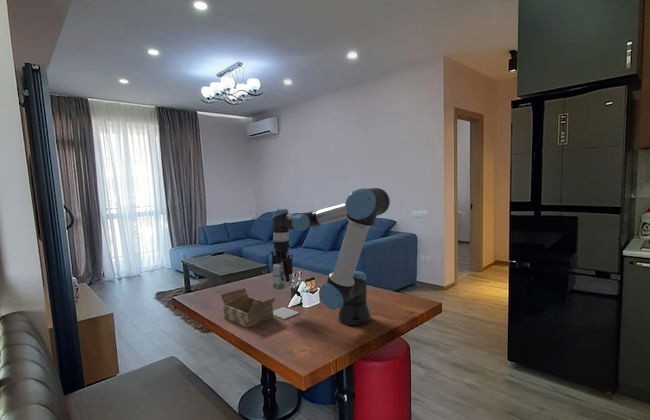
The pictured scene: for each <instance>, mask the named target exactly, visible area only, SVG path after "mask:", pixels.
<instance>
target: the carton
mask: <svg viewBox="0 0 650 420" xmlns="http://www.w3.org/2000/svg"><path fill="white" fill-rule="evenodd" d="M220 297H221V300H222V302H223V305H222V306H223V318H224V319H226V320H228V321H231V322H232V323H235V324H237V325H239V326H241V327H245V328H246V329H248V328H251V327H254V326H256V325H259V324H261V323H263V322H266V321H268V320H271V319H273V318H274V316H273V311H274V302H275V300H276V297H273V298H270V299H268V300H264V301H263V300H260V299H257V298H255V297H252V296H249V295H248V293H247V290H246V288H245V287H243V288H239V289H236V290H234V291H229V292H227V293H223V294H220ZM245 311H247V312H245Z"/></svg>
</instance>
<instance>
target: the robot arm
mask: <svg viewBox="0 0 650 420" xmlns="http://www.w3.org/2000/svg"><path fill="white" fill-rule="evenodd" d="M349 193H350V194H348V195H347V197H346V200H345V202H342V203H338V204H333V205H331V206H328V207H325V208H321V209H317V210H313V211H309V212H302V213H300V212H299V213H289V209H287V208H275V209H274V210H272V228H273V230H272V231H273V232H272V233H273V235H272V236H273V238H272V239H273V249H274V251H270V254H271V268H272V269H271V270H272V272H273V265H274V264H279V263H283V268H284V273H285V275H284V289H288V288H290V287H289V281H290V277H289V275H290V274H292V275H293V273H294V272H293V256H294V255H293V253H289V252H290V251H289V248H290V241H289V239H290V237H289V236H290V233H289V232H290V230H293V231H299V232H300V231H306V230H308V228H315V227H320V226H323V225H326V224H330V223H334V222H338V221H342V220H347V221H348V223H347V227H346V230H345V234H344V237H343V240H342V243H341V247H340V249H339V253H338V256H337V260H336V262H335V266H334V269H333V271H331V272H329V274H328V277H327V279H326V283H323V284H322V285H321V286H320V288H319V290H318V292H319V293H318V295H319V298H320V300H321V302H322V304H323V305H324V306H325V307H326V308H327V309H329V310H338V309H339V312H338V321H339V322H340V323H341V324H343V325H345V324H346V325H347V326H351V325H360V326H363V324H365V325H367V324H369V323H370V322H371V320H372V319H371V312H370V309H369V306H368V303H367V297H368V296H367V293H368V292H367V281H368V280H367V275H366V273H365V272H363V271H360V270H356V269H357V266H358V263H359V259H360V256H361V254H362V250H363V248H364V244H365V240H366V238H367V235H368V232H369V229H370V228H371V227H374V226H375V223H376V219H377V216H381V215H383V214H384V213H386V212H387V211H388V210H389V207H390V205H391V200H390V196H389V194H388V193H387V192H386V191H385V190H384V189H382V188H378V187H374V188H373V187H372V188H371V187H370V188H366V187H365V188H358V189H355V190H353V191H351V192H349ZM284 289H283V290H284ZM369 321H370V322H369ZM368 322H369V323H368ZM366 323H367V324H366Z"/></svg>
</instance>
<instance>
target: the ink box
mask: <svg viewBox="0 0 650 420" xmlns="http://www.w3.org/2000/svg"><path fill="white" fill-rule="evenodd" d="M284 275H285V273H284V268H283V263H282V262H281V263H279V264H274V265H273V271H272V282H273V283H272V286H273V287H272V288H273V289H275V290H279V291H280V290H284ZM292 275H293V273H292V274H290V275H289V277H290V281H289V288H291V287H293V276H292Z"/></svg>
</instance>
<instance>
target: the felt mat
mask: <svg viewBox="0 0 650 420" xmlns="http://www.w3.org/2000/svg"><path fill="white" fill-rule="evenodd" d="M297 315H300V312H299V311H296V310H293V309H290V308H288V307H284V306H283V307H280V308H277V309H273V317H275V318H278V319H281V320H282V321H283V320H284V321H285V320H287V319H289V318H293V317H295V316H297Z"/></svg>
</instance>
